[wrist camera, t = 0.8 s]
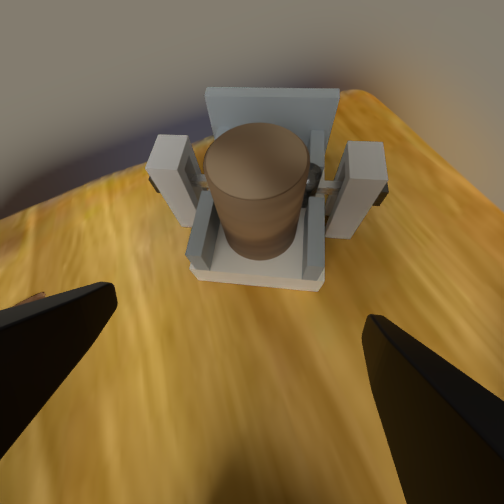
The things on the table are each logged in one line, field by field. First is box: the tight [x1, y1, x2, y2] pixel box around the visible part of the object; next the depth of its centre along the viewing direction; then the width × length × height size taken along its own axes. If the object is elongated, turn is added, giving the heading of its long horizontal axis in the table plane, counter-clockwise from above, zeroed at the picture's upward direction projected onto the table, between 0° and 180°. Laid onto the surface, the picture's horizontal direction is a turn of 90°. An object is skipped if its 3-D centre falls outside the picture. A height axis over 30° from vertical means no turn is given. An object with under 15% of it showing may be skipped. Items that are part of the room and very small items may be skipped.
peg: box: [203, 123, 310, 261], centre depth 18 cm, size 6×6×8 cm
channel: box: [145, 87, 388, 292], centre depth 22 cm, size 15×17×9 cm
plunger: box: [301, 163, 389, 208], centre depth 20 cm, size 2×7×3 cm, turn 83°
